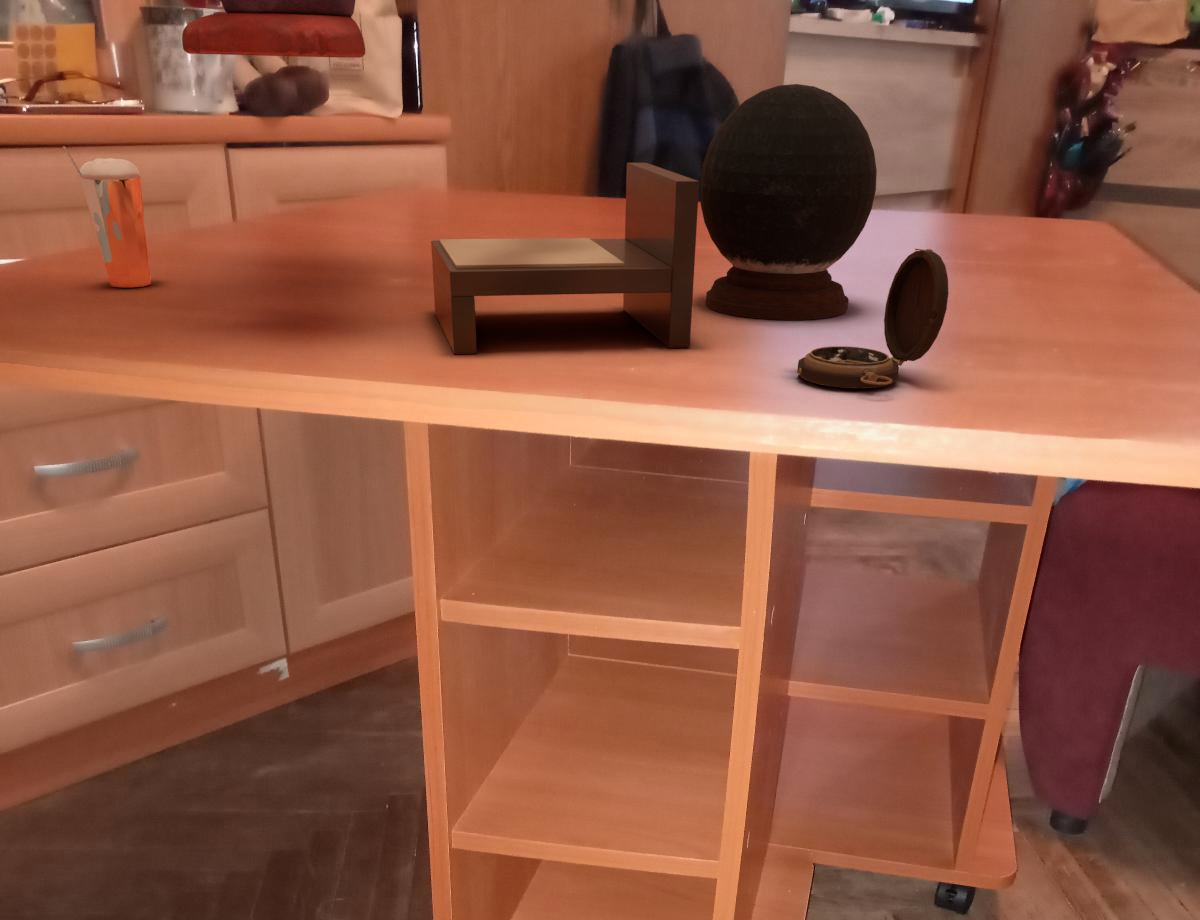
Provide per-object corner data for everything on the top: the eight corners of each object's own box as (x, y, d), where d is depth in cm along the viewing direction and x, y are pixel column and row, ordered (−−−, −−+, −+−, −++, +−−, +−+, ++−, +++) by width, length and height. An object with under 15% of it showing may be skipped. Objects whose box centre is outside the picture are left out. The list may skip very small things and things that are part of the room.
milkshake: (83, 284, 94) (53, 144, 89) (147, 278, 97) (122, 142, 92) (103, 292, 91) (74, 148, 86) (168, 285, 94) (144, 146, 89)
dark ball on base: (875, 323, 86) (908, 88, 78) (699, 321, 86) (714, 84, 77) (843, 292, 97) (868, 83, 89) (687, 290, 97) (698, 80, 88)
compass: (780, 370, 73) (792, 243, 69) (894, 365, 74) (913, 241, 70) (830, 401, 66) (847, 263, 62) (954, 396, 68) (979, 261, 64)
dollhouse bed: (453, 354, 75) (445, 181, 69) (435, 313, 86) (426, 162, 81) (690, 347, 78) (699, 180, 72) (641, 309, 89) (646, 162, 84)
